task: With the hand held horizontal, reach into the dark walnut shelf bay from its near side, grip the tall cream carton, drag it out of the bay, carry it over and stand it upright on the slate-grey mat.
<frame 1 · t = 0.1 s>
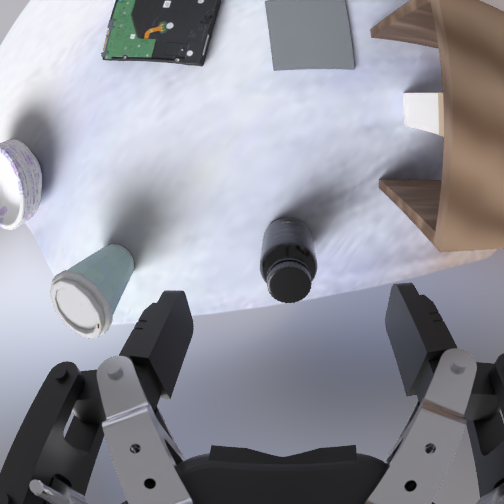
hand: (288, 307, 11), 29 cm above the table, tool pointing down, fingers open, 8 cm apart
disposable coffee cup: (119, 257, 46), on the table
mat: (309, 33, 28), on the table
disk drive: (162, 29, 29), on the table
shelf bay: (412, 110, 31), on the table
paper bowls: (27, 175, 40), on the table
carton: (418, 110, 31), on the table
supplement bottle: (287, 237, 42), on the table
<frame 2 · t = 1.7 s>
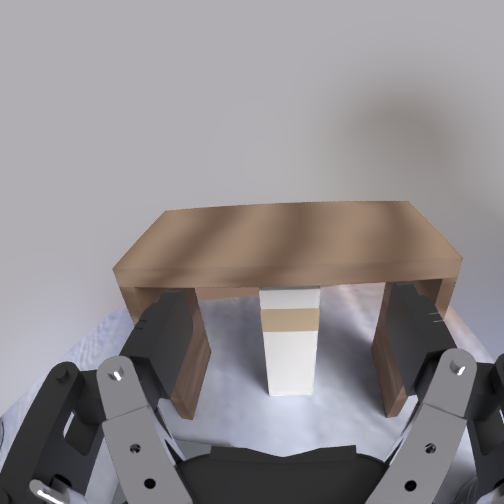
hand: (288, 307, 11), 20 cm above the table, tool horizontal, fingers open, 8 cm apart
mat: (173, 486, 19), on the table
shelf bay: (290, 386, 29), on the table
carton: (291, 379, 30), on the table
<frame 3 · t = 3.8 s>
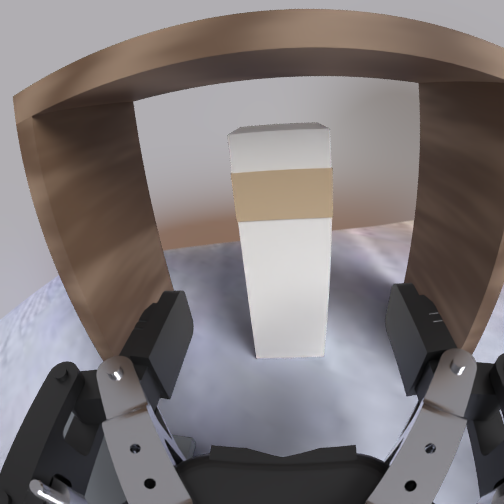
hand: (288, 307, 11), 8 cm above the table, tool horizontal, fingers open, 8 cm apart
mat: (94, 494, 10), on the table
shelf bay: (290, 344, 20), on the table
carton: (290, 334, 21), on the table
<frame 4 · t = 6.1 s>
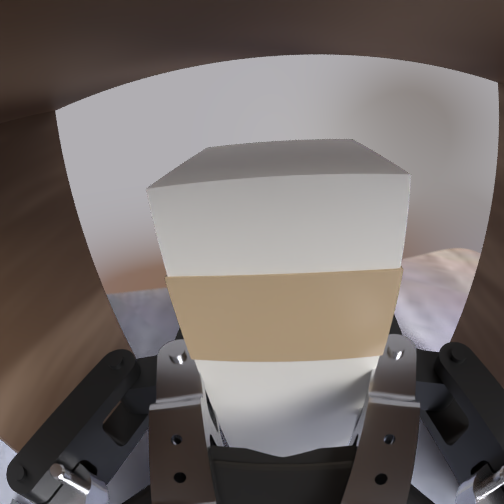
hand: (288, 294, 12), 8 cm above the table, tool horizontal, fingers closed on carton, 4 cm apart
shelf bay: (289, 457, 12), on the table
carton: (289, 441, 13), on the table, touching gripper
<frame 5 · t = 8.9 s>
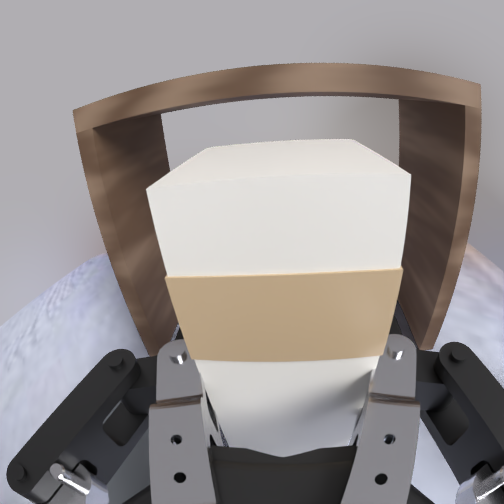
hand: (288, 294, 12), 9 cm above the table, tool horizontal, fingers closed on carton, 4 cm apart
mat: (126, 444, 14), on the table
shelf bay: (291, 316, 24), on the table
carton: (289, 441, 13), point 1 cm above the table, touching gripper
when the fingers open (10 cm above the table, at t = 12.2 s): carton drops 1 cm, resting on mat.
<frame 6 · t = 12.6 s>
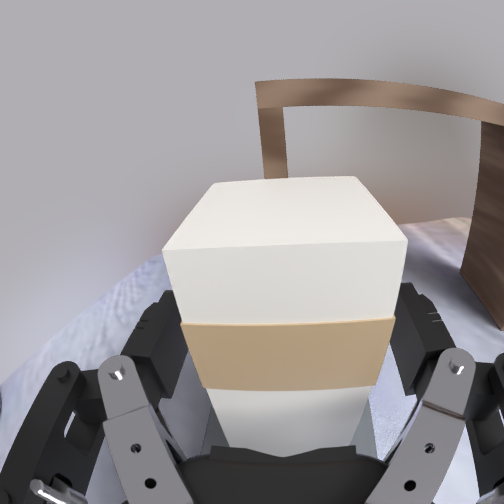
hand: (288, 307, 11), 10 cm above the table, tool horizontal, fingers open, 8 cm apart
mat: (289, 453, 14), on the table
shelf bay: (399, 308, 24), on the table
carton: (290, 449, 14), point 1 cm above the table, touching mat
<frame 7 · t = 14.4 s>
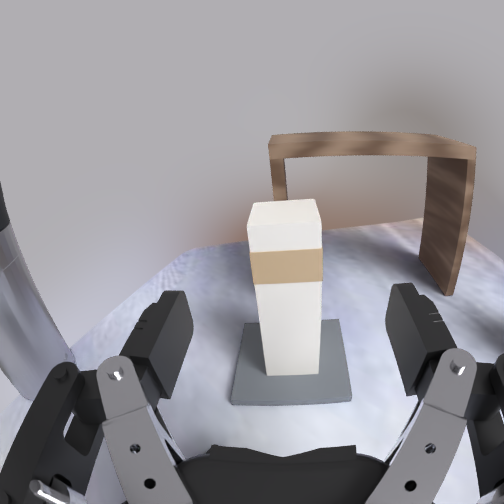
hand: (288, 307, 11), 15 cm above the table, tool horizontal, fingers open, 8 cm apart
mat: (292, 362, 26), on the table
shelf bay: (366, 280, 36), on the table
carton: (292, 356, 26), point 1 cm above the table, touching mat
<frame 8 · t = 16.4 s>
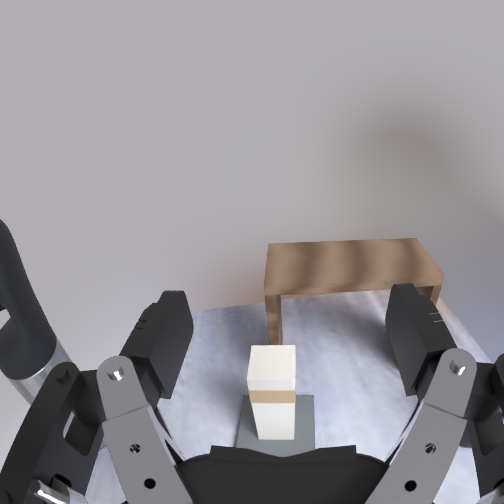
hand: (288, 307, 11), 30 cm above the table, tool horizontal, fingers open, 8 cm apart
mat: (276, 428, 34), on the table
shelf bay: (341, 356, 44), on the table
carton: (277, 425, 34), point 1 cm above the table, touching mat
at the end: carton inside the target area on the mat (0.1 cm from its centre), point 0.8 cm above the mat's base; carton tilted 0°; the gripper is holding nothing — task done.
